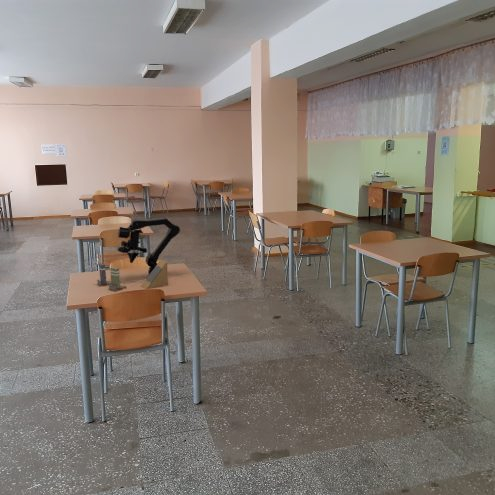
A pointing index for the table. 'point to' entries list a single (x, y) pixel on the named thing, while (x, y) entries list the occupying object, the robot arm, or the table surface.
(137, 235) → the robot arm
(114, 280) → the green striped block
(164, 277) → the sandwich container
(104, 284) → the key rack
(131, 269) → the table surface
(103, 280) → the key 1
